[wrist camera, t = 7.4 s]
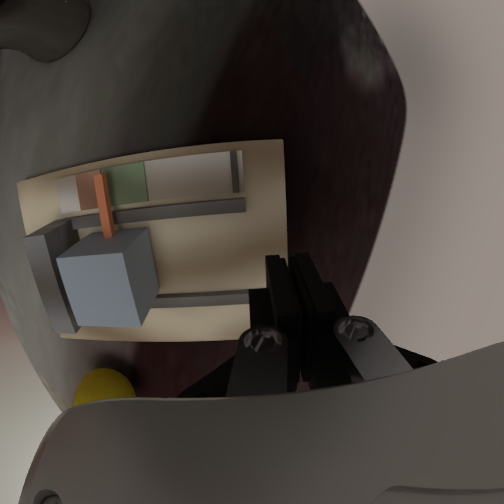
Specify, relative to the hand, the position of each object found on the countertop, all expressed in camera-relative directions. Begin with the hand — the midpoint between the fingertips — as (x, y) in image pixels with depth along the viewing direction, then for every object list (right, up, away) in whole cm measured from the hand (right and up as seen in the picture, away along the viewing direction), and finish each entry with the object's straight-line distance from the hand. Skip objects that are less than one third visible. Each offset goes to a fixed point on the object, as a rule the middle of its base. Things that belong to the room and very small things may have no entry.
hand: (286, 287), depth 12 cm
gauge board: (-9, +1, +9) cm, 13 cm away
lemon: (-14, -10, +13) cm, 22 cm away
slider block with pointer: (-10, +3, +7) cm, 12 cm away
